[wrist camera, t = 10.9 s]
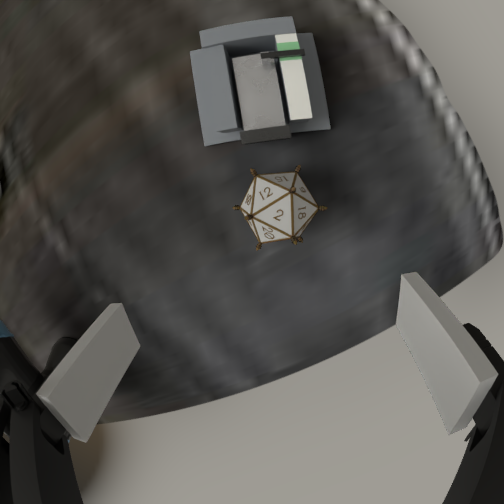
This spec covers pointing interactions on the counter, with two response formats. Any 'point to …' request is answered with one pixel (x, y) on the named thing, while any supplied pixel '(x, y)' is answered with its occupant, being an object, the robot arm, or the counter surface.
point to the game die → (278, 206)
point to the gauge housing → (288, 71)
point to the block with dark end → (261, 96)
